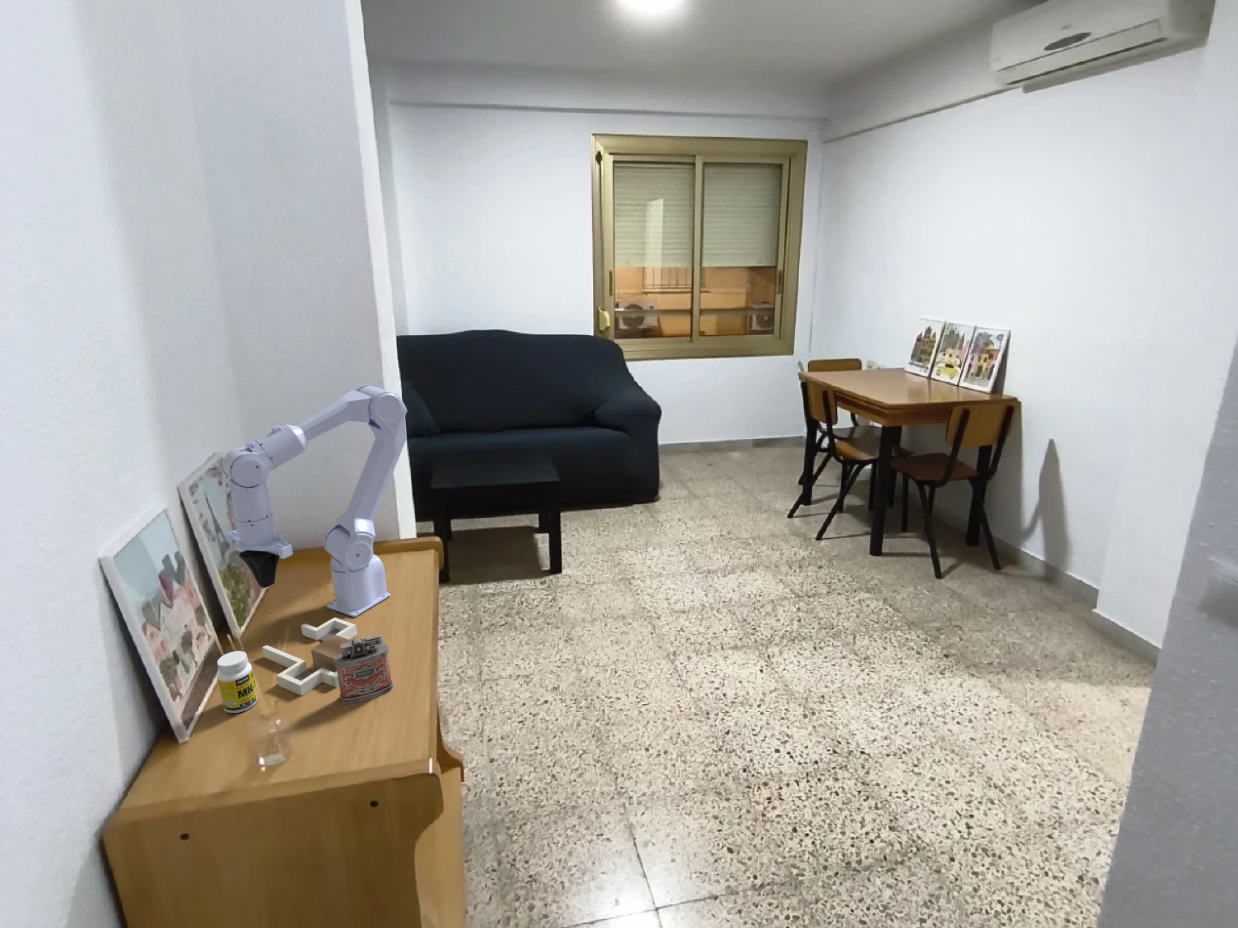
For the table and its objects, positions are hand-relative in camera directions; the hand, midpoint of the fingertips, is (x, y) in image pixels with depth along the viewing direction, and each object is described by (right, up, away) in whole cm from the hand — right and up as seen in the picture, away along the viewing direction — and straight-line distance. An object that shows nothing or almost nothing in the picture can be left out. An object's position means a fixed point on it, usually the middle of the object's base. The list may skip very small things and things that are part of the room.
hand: (267, 584), depth 121 cm
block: (+16, -13, -6) cm, 21 cm away
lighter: (+23, -15, -13) cm, 31 cm away
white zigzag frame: (+12, -12, -5) cm, 17 cm away
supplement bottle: (+4, -16, -16) cm, 23 cm away
